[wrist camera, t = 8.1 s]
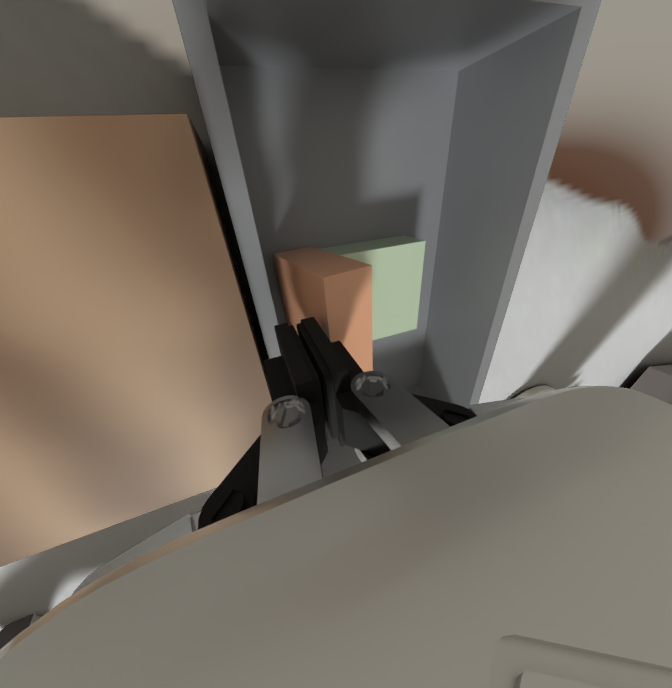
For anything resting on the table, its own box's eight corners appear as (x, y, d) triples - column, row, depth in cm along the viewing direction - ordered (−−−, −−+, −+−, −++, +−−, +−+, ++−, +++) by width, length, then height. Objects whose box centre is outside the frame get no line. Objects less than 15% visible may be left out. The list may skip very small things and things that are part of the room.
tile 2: (272, 253, 13) (310, 246, 14) (291, 343, 16) (321, 332, 17) (322, 277, 9) (372, 264, 10) (335, 391, 12) (372, 374, 13)
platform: (201, 142, 11) (186, 113, 7) (276, 405, 20) (289, 460, 16) (-335, 167, 7) (-1009, 137, 3) (45, 476, 16) (-17, 573, 12)
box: (465, 53, 13) (610, -32, 8) (421, 384, 25) (469, 432, 20) (184, 40, 10) (139, -117, 5) (288, 429, 21) (306, 499, 16)
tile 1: (331, 256, 13) (318, 248, 14) (338, 349, 16) (327, 333, 17) (425, 240, 14) (403, 235, 16) (416, 328, 17) (398, 315, 19)
